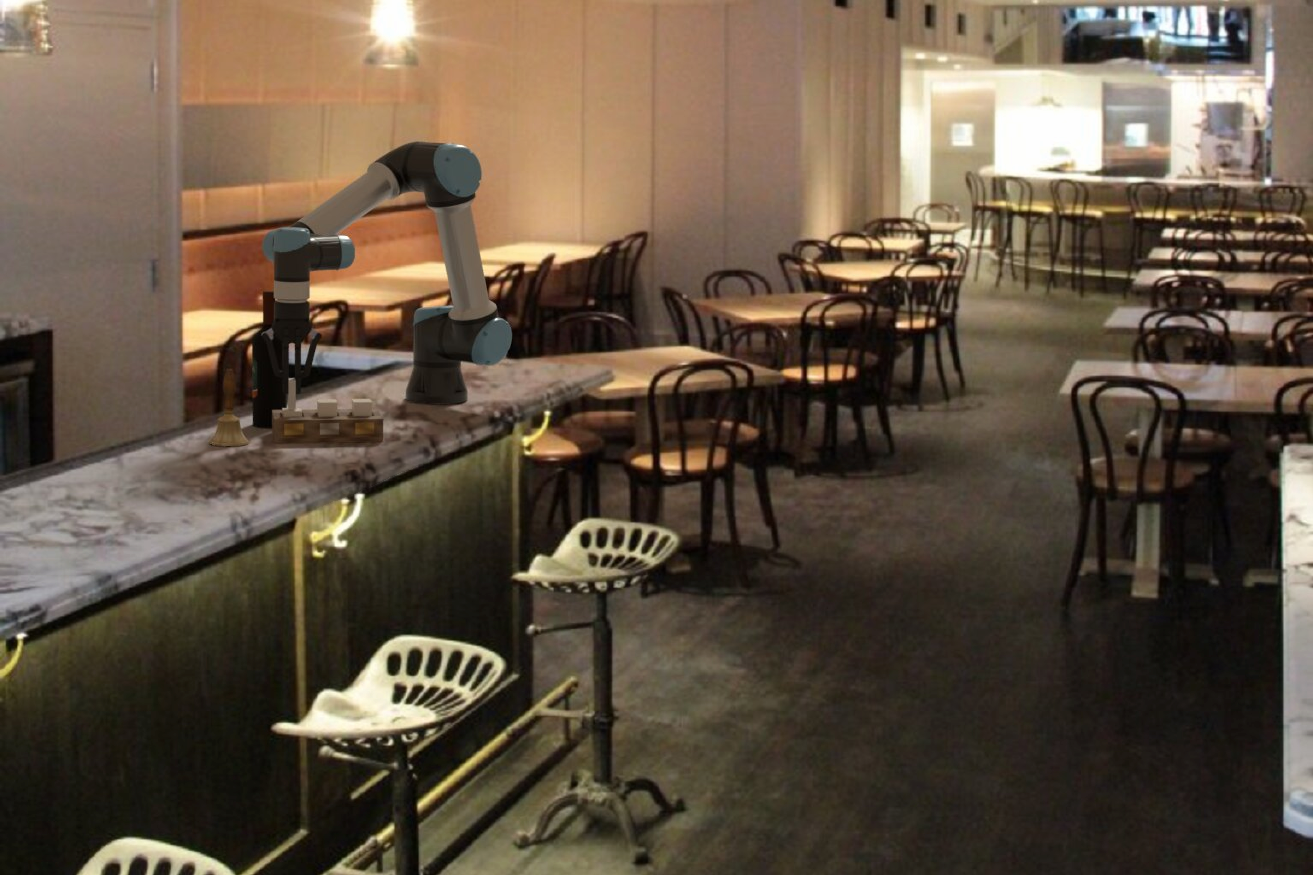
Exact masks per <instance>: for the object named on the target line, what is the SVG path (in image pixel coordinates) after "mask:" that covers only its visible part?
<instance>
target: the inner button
mask: <svg viewBox="0 0 1313 875" xmlns="http://www.w3.org/2000/svg"><path fill="white" fill-rule="evenodd" d="M351 409H352V416H372V409H373V401H372V400H371V398H352V399H351Z"/></svg>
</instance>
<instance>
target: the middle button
mask: <svg viewBox="0 0 1313 875" xmlns="http://www.w3.org/2000/svg"><path fill="white" fill-rule="evenodd" d="M316 403H317V404H316V408H317V409H316V410H317V417H335V416H337V409H338V400H337V399H336V398H330V399H329V398H327V399H323V398H321V399H317V400H316Z"/></svg>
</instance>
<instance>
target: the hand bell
mask: <svg viewBox="0 0 1313 875" xmlns="http://www.w3.org/2000/svg"><path fill="white" fill-rule="evenodd" d="M222 387H223V393H224V394H223V395H224V397H225V404H224V405H225V406H224V415H222V416H221V417H219V418H218V419H217V426H216V427H217V428H216V430H215V433H214V435H213V436H212V437H211V438H210V439H209V441H208V444H209V443H210V445H211V444H212V446H215V445H217V446H216V447H226V446H231V447H242V446H246V445H249V444H250V441H249V439H248V438H247V437H246V435H244V433H243V430H242V427H241V420H240V418H239V417H237V416H236V415H234V396H235V392H236V376H235V374H234V370H233V368H226V370H225V374H224V377H223V380H222Z"/></svg>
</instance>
